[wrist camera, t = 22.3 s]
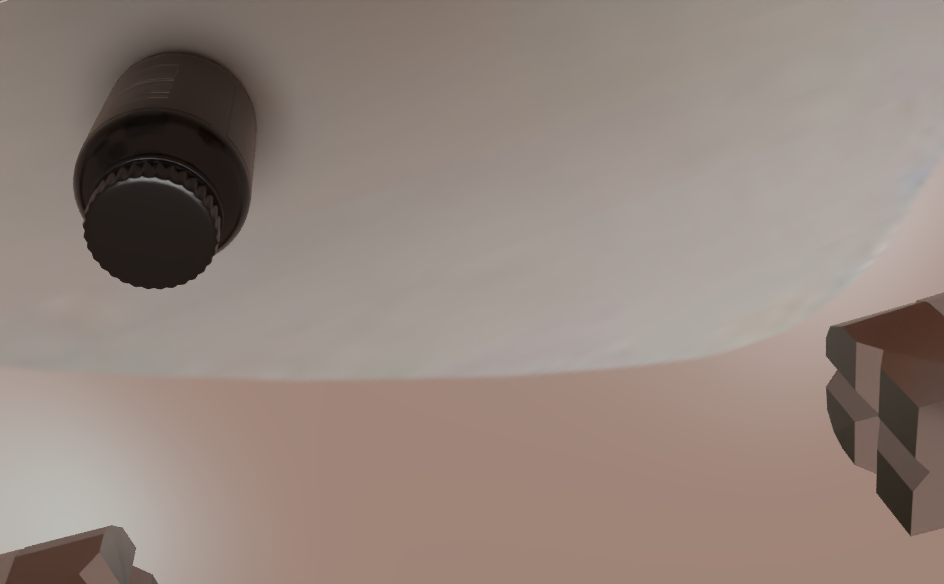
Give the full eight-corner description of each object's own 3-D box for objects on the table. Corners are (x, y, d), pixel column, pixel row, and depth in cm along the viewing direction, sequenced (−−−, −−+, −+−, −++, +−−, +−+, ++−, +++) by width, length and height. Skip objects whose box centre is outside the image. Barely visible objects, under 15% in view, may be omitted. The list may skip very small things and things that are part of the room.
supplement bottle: (102, 171, 44) (40, 297, 33) (117, 33, 40) (53, 125, 30) (246, 198, 45) (229, 325, 35) (271, 68, 42) (259, 167, 32)
